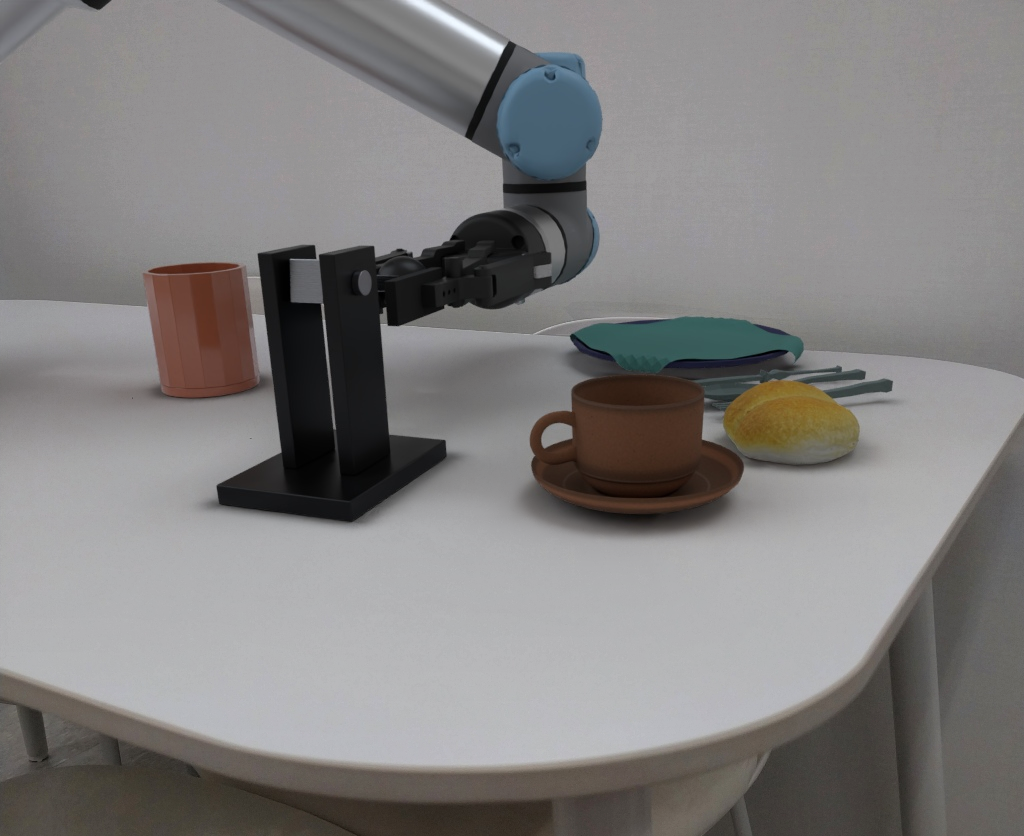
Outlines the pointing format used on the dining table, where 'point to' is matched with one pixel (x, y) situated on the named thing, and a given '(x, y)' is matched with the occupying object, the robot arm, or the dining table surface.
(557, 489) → the cup and saucer
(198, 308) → the cup
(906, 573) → the dining table surface
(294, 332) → the black stand
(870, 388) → the cutlery set
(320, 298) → the lever
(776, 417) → the bread roll
